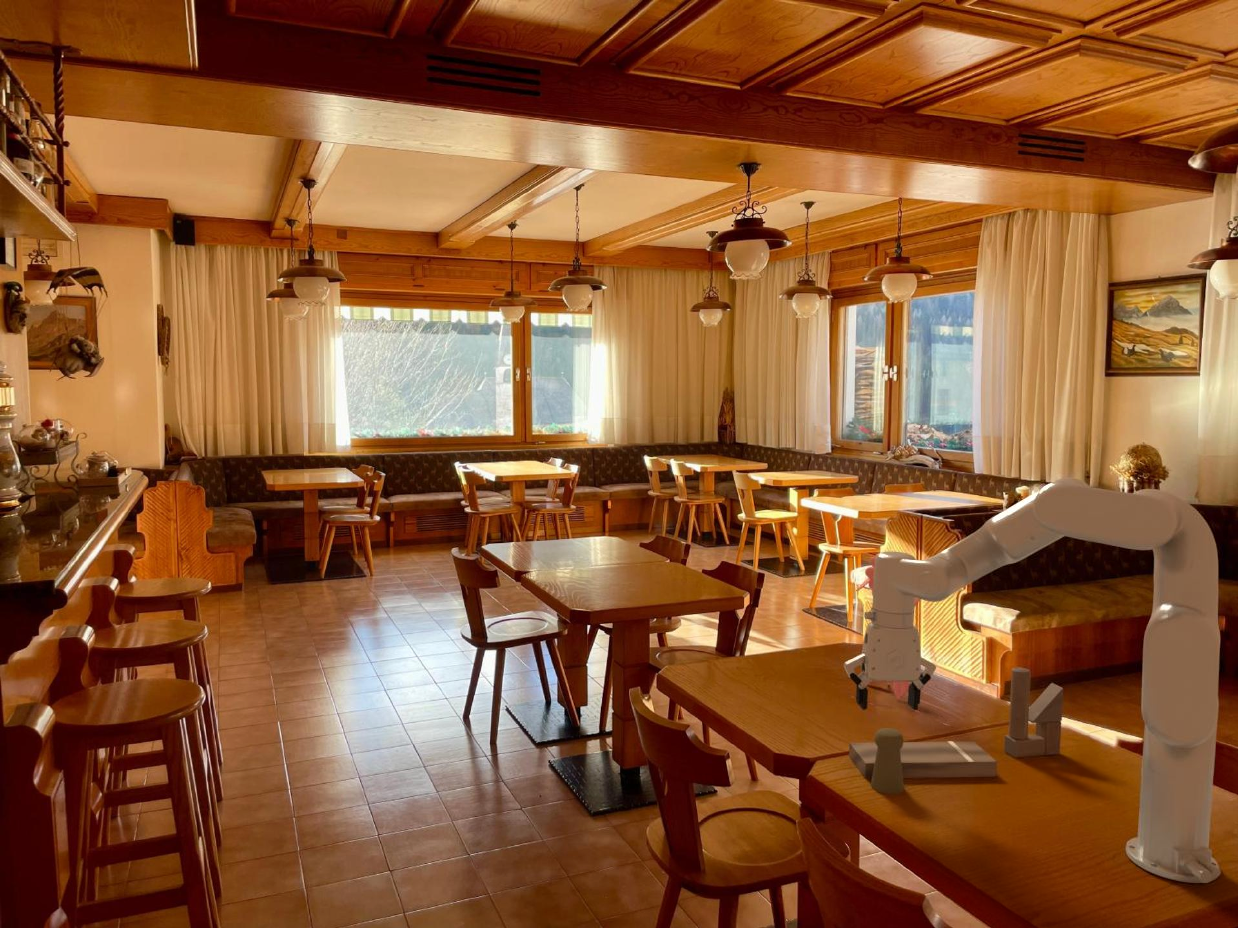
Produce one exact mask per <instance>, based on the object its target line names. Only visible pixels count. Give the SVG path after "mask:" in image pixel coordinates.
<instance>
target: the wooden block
mask: <svg viewBox="0 0 1238 928" xmlns="http://www.w3.org/2000/svg"><path fill="white" fill-rule="evenodd" d="M1031 673H1032V672H1031V670H1030V669H1028V668H1025V667H1019V666H1018V667H1012V669H1011V679H1010V681H1011V682H1010V696H1009V697H1010V700H1009V701H1010V703H1009V717H1008V718H1009V719H1008V723H1009V724H1008V734H1005V735H1004V745H1003V746H1004V747H1003V750H1004V752H1005V753H1006V754H1008V755H1010V756H1011V757H1013V758H1027V757H1039V756H1051V755H1052V756H1053V755H1059V754H1060V753H1061V737H1062V736H1061V734H1062V721H1063V706H1064V705H1063V704H1064V687H1061V685H1060V686H1059V685H1057V684H1055V683H1054V682H1051V683H1050V684H1049V685H1048V686H1047V687H1046V688H1045V689H1044V691H1043V692H1042V693H1041V694H1040V695H1039V696H1038V698H1036V700H1035V701H1034V702H1033V703H1032V704H1031V705H1030V700H1031V699H1030V697H1031V695H1030V694H1031V693H1030V692H1031V677H1032V674H1031ZM1029 723H1031V724H1035V733H1034V734H1032V733H1029Z"/></svg>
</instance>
